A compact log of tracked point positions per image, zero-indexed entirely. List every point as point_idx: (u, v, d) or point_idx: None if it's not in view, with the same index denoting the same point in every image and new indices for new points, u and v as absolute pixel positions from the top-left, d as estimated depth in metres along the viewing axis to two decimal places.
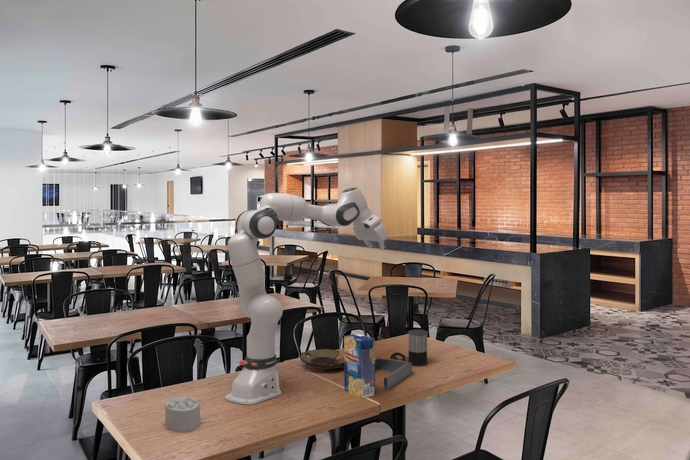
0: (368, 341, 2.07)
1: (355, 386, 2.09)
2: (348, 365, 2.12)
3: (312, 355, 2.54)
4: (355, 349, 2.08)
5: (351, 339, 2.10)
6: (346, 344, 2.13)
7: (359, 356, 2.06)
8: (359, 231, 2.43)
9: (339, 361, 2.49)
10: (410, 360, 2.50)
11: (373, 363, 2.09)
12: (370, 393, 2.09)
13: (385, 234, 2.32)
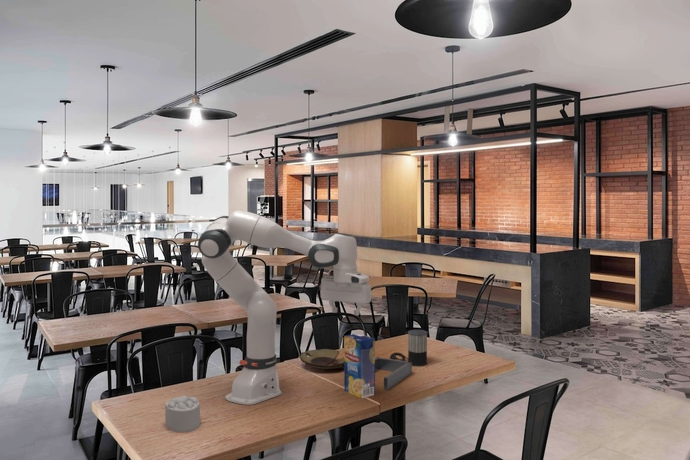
0: (368, 341, 2.07)
1: (355, 386, 2.09)
2: (348, 365, 2.12)
3: (312, 355, 2.54)
4: (355, 349, 2.08)
5: (351, 339, 2.10)
6: (346, 344, 2.13)
7: (359, 356, 2.06)
8: (331, 288, 2.03)
9: (339, 361, 2.49)
10: (410, 360, 2.50)
11: (373, 363, 2.09)
12: (370, 393, 2.09)
13: (370, 296, 1.97)
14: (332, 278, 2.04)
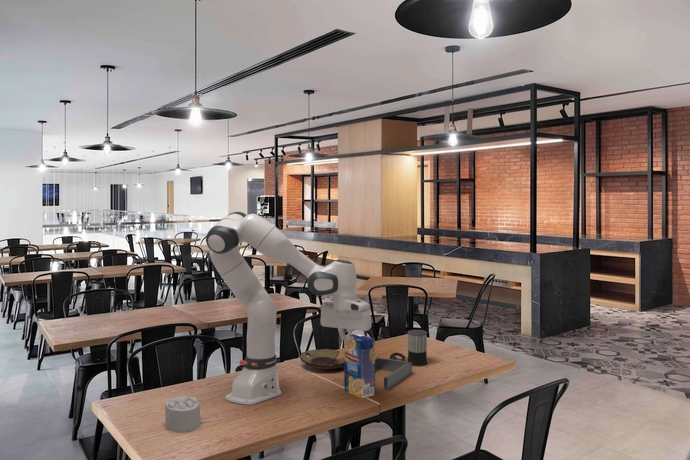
0: (368, 341, 2.07)
1: (355, 386, 2.09)
2: (348, 365, 2.12)
3: (312, 355, 2.54)
4: (355, 349, 2.08)
5: (351, 339, 2.10)
6: (346, 344, 2.13)
7: (359, 356, 2.06)
8: (331, 315, 2.03)
9: (339, 361, 2.49)
10: (409, 360, 2.50)
11: (373, 363, 2.09)
12: (370, 393, 2.09)
13: (370, 323, 1.98)
14: (332, 305, 2.04)
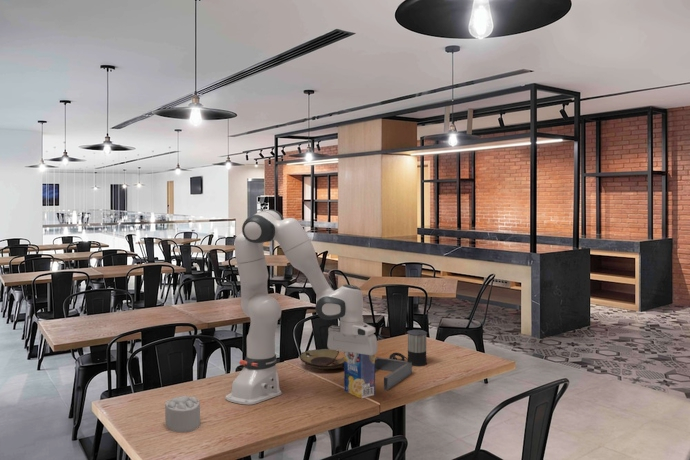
0: None
1: (355, 386, 2.09)
2: (348, 365, 2.12)
3: (312, 355, 2.54)
4: None
5: None
6: None
7: (359, 356, 2.06)
8: (338, 338, 2.08)
9: (339, 361, 2.49)
10: (409, 360, 2.50)
11: (373, 363, 2.09)
12: (370, 393, 2.09)
13: (376, 348, 2.02)
14: (339, 328, 2.09)
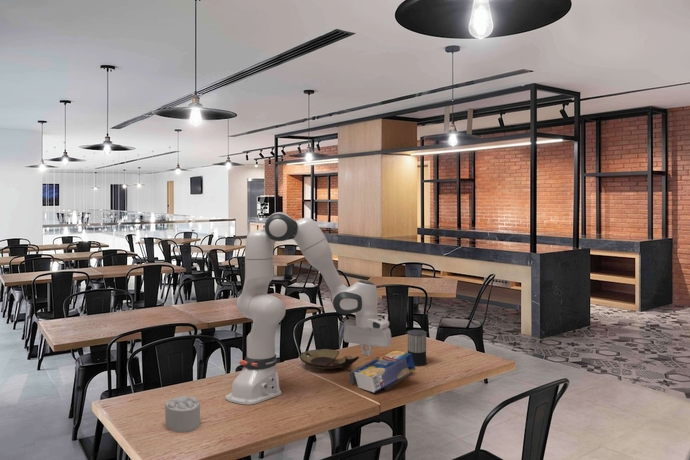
0: (412, 362, 2.21)
1: (372, 370, 2.14)
2: (378, 361, 2.22)
3: (312, 355, 2.54)
4: (399, 356, 2.22)
5: (401, 352, 2.26)
6: (391, 353, 2.27)
7: (399, 359, 2.19)
8: (353, 331, 2.18)
9: (339, 361, 2.49)
10: None
11: (397, 377, 2.17)
12: (375, 385, 2.10)
13: (390, 340, 2.13)
14: (354, 322, 2.19)
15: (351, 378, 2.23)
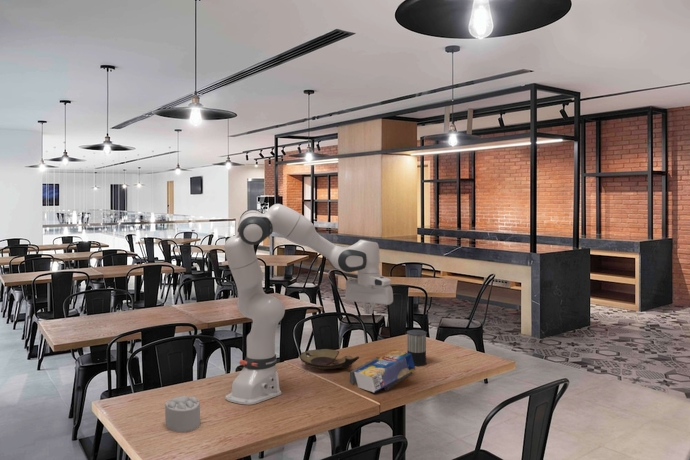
0: (412, 362, 2.21)
1: (372, 370, 2.14)
2: (378, 361, 2.22)
3: (312, 355, 2.54)
4: (399, 356, 2.22)
5: (401, 352, 2.26)
6: (391, 353, 2.27)
7: (399, 359, 2.19)
8: (355, 290, 2.19)
9: (339, 361, 2.49)
10: None
11: (397, 377, 2.17)
12: (375, 385, 2.10)
13: (392, 298, 2.14)
14: (356, 281, 2.20)
15: (351, 378, 2.23)
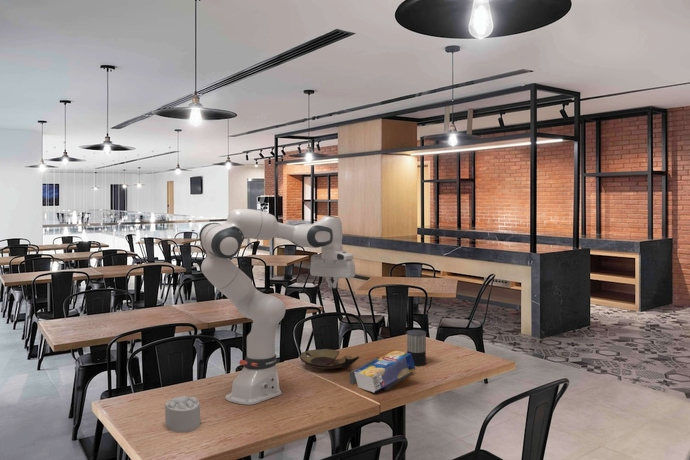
0: (412, 362, 2.21)
1: (372, 370, 2.14)
2: (378, 361, 2.22)
3: (312, 355, 2.54)
4: (399, 356, 2.22)
5: (401, 352, 2.26)
6: (391, 353, 2.27)
7: (399, 359, 2.19)
8: (319, 265, 2.27)
9: (339, 361, 2.49)
10: None
11: (397, 377, 2.17)
12: (375, 385, 2.10)
13: (354, 272, 2.22)
14: (320, 256, 2.28)
15: (351, 378, 2.23)
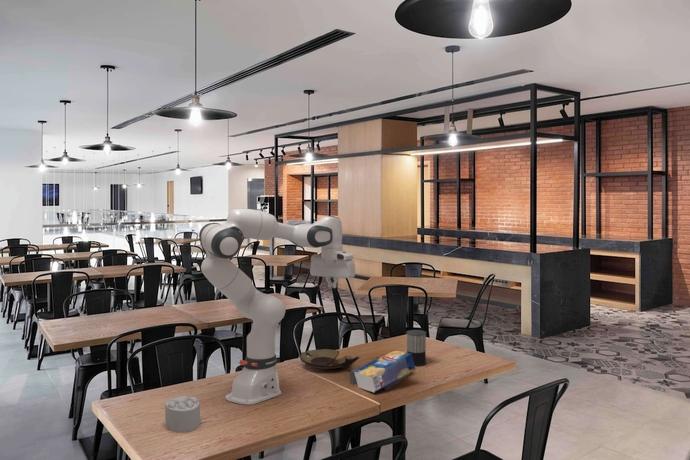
0: (412, 362, 2.21)
1: (372, 370, 2.14)
2: (378, 361, 2.22)
3: (312, 355, 2.54)
4: (399, 356, 2.22)
5: (401, 352, 2.26)
6: (391, 353, 2.27)
7: (399, 359, 2.19)
8: (319, 265, 2.27)
9: (339, 361, 2.49)
10: None
11: (397, 377, 2.17)
12: (375, 385, 2.10)
13: (354, 272, 2.22)
14: (320, 256, 2.28)
15: (351, 378, 2.23)
